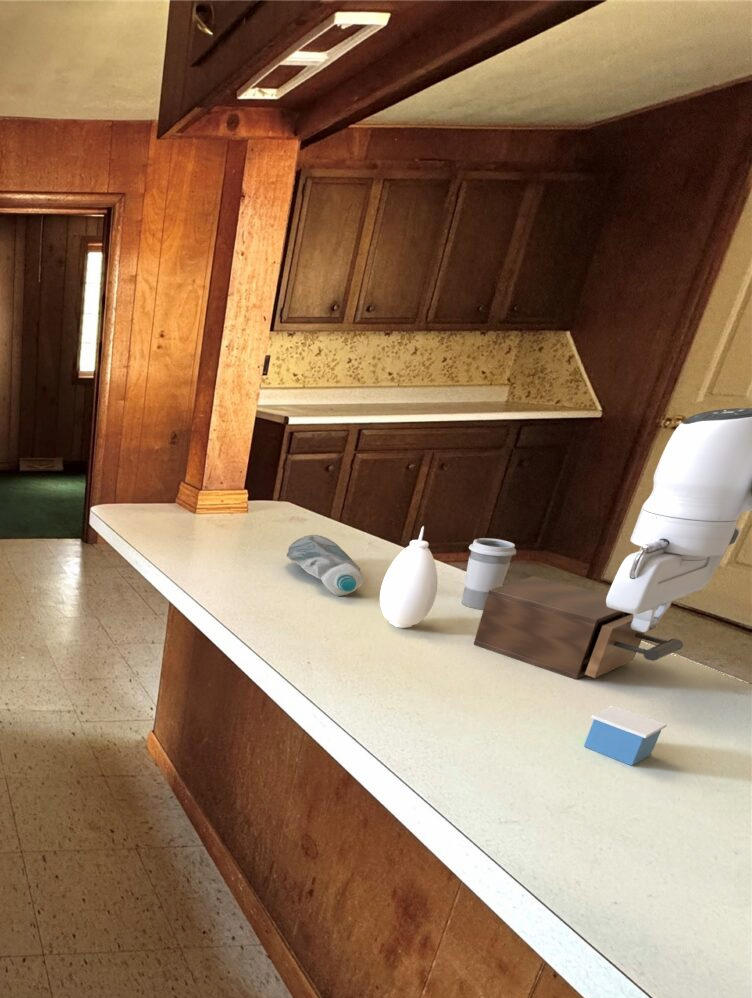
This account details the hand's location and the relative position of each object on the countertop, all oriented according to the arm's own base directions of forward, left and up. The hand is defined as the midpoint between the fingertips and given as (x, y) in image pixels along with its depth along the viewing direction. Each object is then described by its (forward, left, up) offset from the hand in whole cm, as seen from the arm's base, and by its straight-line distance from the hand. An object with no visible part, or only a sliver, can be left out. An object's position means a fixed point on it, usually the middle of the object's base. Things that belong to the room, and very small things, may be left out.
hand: (642, 628), depth 93 cm
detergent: (+48, 0, -8) cm, 48 cm away
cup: (+26, -12, -8) cm, 30 cm away
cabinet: (+10, 0, -8) cm, 13 cm away
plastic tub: (-8, +23, -8) cm, 26 cm away
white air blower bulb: (+27, +9, -8) cm, 29 cm away
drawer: (+5, 0, -7) cm, 9 cm away
